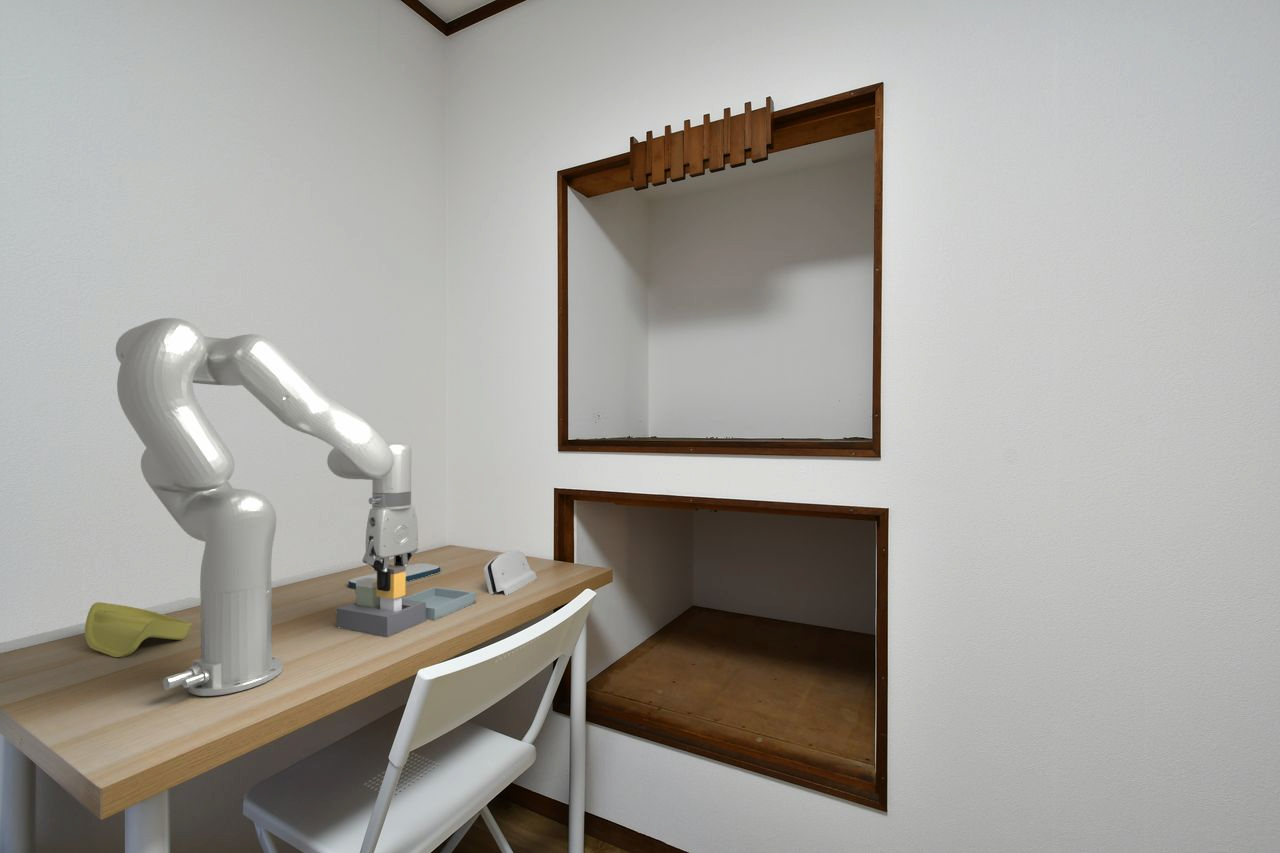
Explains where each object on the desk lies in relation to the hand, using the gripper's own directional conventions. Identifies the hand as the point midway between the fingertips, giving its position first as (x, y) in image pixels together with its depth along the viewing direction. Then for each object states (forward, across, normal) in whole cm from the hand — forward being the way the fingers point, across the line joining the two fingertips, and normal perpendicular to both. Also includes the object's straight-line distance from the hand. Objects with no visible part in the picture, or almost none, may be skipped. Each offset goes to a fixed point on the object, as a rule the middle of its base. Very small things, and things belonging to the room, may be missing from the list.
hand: (391, 587), depth 113 cm
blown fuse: (+5, 0, 0) cm, 5 cm away
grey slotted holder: (+8, +35, -4) cm, 36 cm away
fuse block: (+8, +1, +3) cm, 9 cm away
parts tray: (+8, +13, +1) cm, 16 cm away
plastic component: (+9, -24, +42) cm, 50 cm away
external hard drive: (+8, +29, +31) cm, 43 cm away
